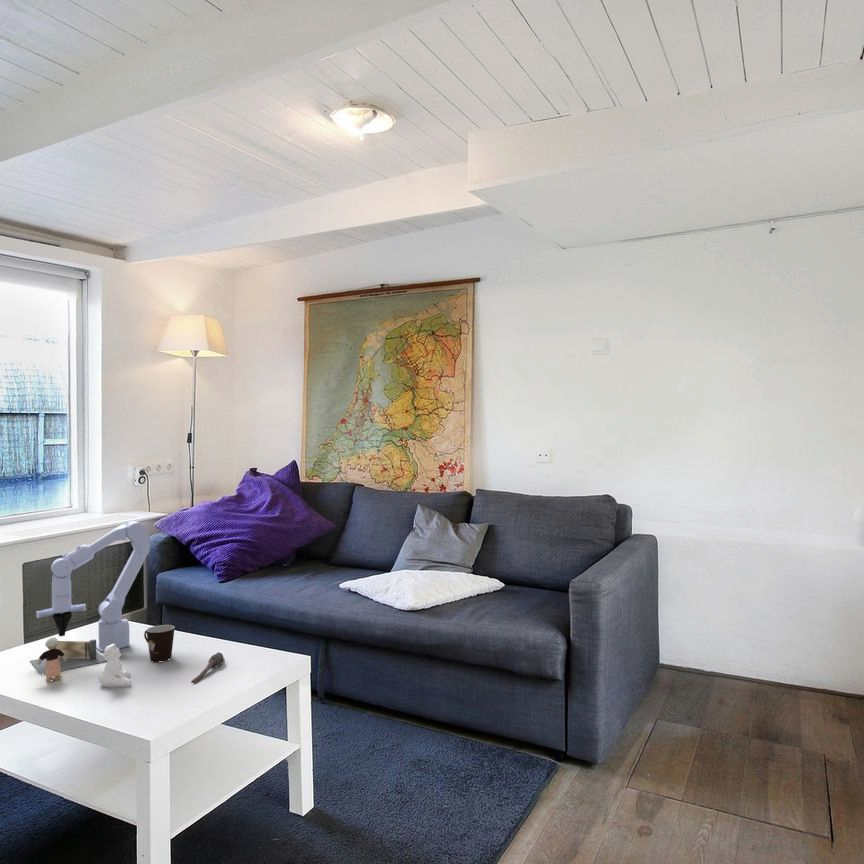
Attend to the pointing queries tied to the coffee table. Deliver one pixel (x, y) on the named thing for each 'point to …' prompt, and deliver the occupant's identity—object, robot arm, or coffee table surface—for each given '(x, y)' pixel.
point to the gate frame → (73, 660)
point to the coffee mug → (160, 642)
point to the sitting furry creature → (114, 670)
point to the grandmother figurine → (52, 659)
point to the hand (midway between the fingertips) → (61, 635)
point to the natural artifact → (210, 665)
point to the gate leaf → (74, 648)
